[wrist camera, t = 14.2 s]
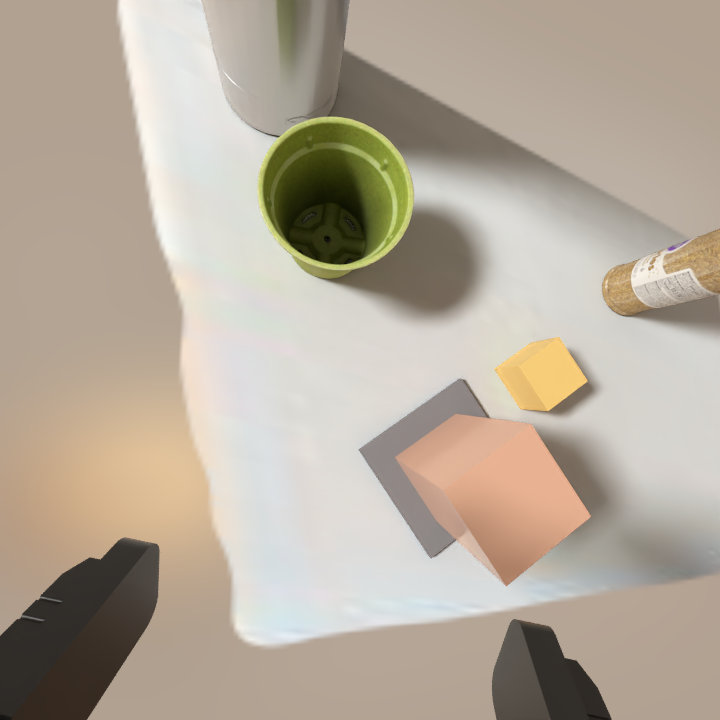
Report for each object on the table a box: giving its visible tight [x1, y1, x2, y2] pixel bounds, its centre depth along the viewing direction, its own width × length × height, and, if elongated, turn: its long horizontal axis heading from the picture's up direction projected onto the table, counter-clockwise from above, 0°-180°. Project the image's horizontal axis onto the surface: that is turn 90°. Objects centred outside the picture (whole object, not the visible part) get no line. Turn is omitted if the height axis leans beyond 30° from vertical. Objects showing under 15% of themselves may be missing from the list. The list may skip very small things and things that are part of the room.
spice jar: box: [602, 229, 720, 315], centre depth 30 cm, size 5×5×13 cm
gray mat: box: [359, 379, 487, 558], centre depth 33 cm, size 10×10×1 cm
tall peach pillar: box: [395, 414, 591, 586], centre depth 28 cm, size 6×6×11 cm
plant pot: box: [257, 117, 414, 279], centre depth 29 cm, size 9×9×9 cm
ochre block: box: [495, 337, 587, 411], centre depth 33 cm, size 4×4×4 cm
